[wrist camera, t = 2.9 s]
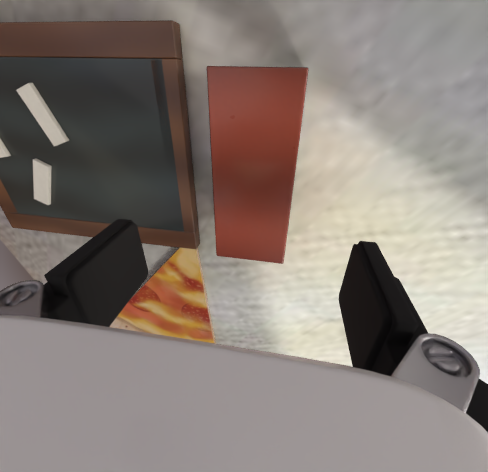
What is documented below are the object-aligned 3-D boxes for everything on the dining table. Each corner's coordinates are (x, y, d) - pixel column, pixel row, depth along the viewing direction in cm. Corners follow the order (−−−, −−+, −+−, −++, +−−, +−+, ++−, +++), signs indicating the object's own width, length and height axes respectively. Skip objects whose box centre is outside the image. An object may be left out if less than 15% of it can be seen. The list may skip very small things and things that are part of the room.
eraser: (227, 68, 18) (206, 65, 14) (305, 70, 17) (308, 67, 13) (229, 226, 25) (216, 255, 21) (285, 231, 24) (283, 264, 20)
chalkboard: (-83, 26, 20) (-102, 23, 19) (179, 23, 17) (172, 20, 16) (21, 222, 30) (12, 227, 29) (200, 243, 27) (196, 249, 26)
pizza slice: (297, 313, 30) (297, 326, 28) (194, 369, 41) (190, 382, 39) (195, 230, 26) (189, 240, 25) (112, 317, 37) (103, 328, 36)
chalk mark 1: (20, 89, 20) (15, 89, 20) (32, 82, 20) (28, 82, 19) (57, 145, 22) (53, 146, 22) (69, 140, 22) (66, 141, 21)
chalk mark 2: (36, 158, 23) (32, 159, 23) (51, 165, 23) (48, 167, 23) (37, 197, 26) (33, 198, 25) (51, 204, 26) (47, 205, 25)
